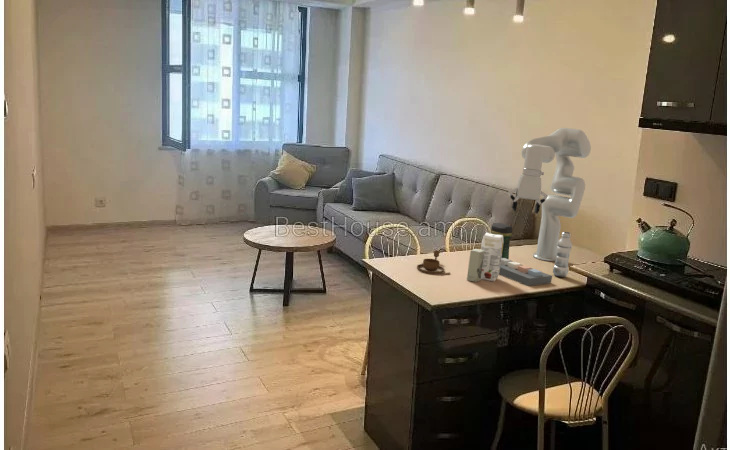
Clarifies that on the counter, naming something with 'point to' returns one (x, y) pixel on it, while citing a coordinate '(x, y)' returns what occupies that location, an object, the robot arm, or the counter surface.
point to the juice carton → (491, 256)
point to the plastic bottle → (562, 255)
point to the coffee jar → (506, 232)
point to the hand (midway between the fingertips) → (525, 211)
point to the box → (475, 265)
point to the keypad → (524, 276)
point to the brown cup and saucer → (431, 265)
